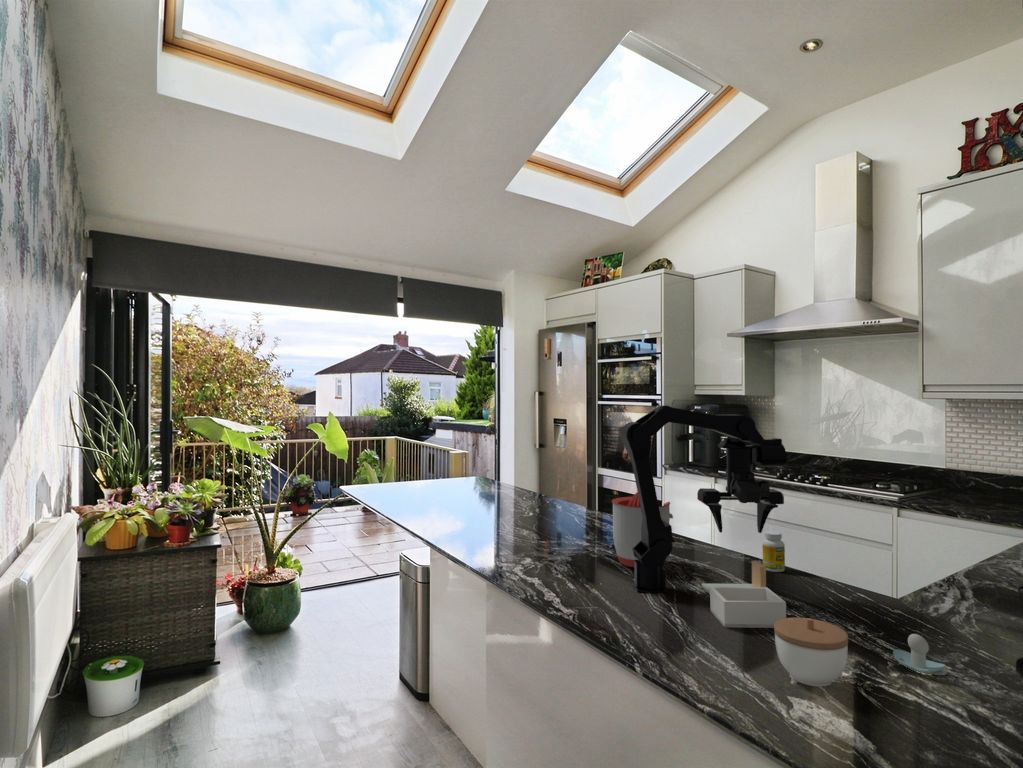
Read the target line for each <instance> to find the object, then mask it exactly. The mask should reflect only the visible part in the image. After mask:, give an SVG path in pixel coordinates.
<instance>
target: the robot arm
mask: <svg viewBox="0 0 1023 768" xmlns="http://www.w3.org/2000/svg"><path fill="white" fill-rule="evenodd" d="M668 423H672V424H677V425H685V426H690V427H695V428H702V429H707V430H711V431H714V432H716V433H719V434H721V435H724V436H727V437H724V438H723V440H722V441H720V442H719V443H718V444H717V447H718V448H722V449H726V469H725V474H726V486H725V491H719V490H718V489H715V488H702V487H701V488H699V489H698V491H697V497H696V498H697V501H700V503H702V504H703V505H705V506H707V507H708V508H709V511H710V512H711V514H712V517H713V519H714V522H715V524H716V527H717V529H718V532H719V533H723V522H722V520H723V519H722V506H723V505H722V504H720V502H721V501H738V502H739V503H741V504H747V503H754V504H756V511H757V512H756V521H757V522H756V527H757V533H759V534H761V533H762V532H763V530H764V527H765V524H766V522H767V518H768V517H769V515H770V514H771V511H773V509H775V508H778V507H779V505H784V504H785V498H784V497H785V496H784V494H783V492H781V491H780V490H777V489H775V488H770V483H769V481H767V480H760V481H756V479H755V477H756V476H755V472H753V463H755V465H756V467H758V468H767V467H768V468H771V467H773V468H774V467H775V468H776V467H778V468H779V467H780V468H782V467H785V466H786V463H787V461H788V455H787V452H786V448H785V446H784V444H783V439H782V438H778V437H775V438H774V437H773V438H764V437H763V436H762V434H761V433H760V432H759V431H758V429H757V428H756V426H757V425H756V421H754V420H753V417H751V416H749V415H745V414H731V413H730V414H711V413H707V412H702V411H701V412H700V411H694V410H689V409H682V408H677V407H671V406H670V405H661V404H660V405H658V406H656V407H655V408H654V409H653V410H652V411H650V412H648V413H646V414H645V415H643V416H641V417H639V418H638V419H637V420H636V421H630V422H627V423H625V424H623V426H622V427H621V429H620V438H621V441H622V443H623V446H624V449H625V451H626V452H627V455H628V456H629V459H630V461H631V466H632V471H633V475H634V480H635V486H636V492H638V496H639V501H640V506H641V512H642V518H643V519H642V526H641V541H640V542H639V543H638V544H637V545H636V546H635V547H634V548H633V549H632V551H633V554H634V556H635V558H637V559H638V560H634V567H633V568H634V569H633V570H634V571H633V573H634V575H633V576H634V580H633V581H632V585H633V587H634V588H635V590H636V591H637V592H639V593H665V592H666V585H667V584H666V583H667V580H666V579H667V578H666V577H667V575H666V571H667V570H666V569H665V567H664V565H665V563H666V560H667V558H668V557H669V556H670V554H671V553H672V552H673V550H674V546H673V544H675V543H676V541H675V540H674V537H673V530H672V529H673V528H672V525H671V524H670V523H669V524H668V523H667V522H665V521H664V520H663V521H662V519H661V515H660V510H659V506H660V505H659V501H658V497H657V496H658V495H657V491H656V486H655V481H654V480H655V479H654V475H653V471H652V467H651V464H652V463H651V461H650V460H651V459H650V458H651V450H652V437H653V436H654V435H655V434H657V433H659V431H660V430H661V429H663V427H664V426H665V425H667V424H668ZM728 437H729V438H728ZM730 438H733V439H739V440H731V439H730ZM745 442H746V443H750V445H749V444H745Z"/></svg>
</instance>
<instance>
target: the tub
mask: <svg viewBox="0 0 1023 768" xmlns="http://www.w3.org/2000/svg"><path fill="white" fill-rule="evenodd" d="M709 598H710V603H709V605H710V606H709V607H710V608H709V610H710V612H711V613H712V615H713V616H714V617H715V618H716V619H717V621H718V622H719V623H720V624H721V625H722V626H723V628H740V629H741V628H742V629H743V628H752V629H754V628H755V629H756V628H758V629H761V628H762V629H764V628H765V629H767V628H768V629H774V624H775V622H776V621H778V620H780V619H784V618H787V602H786V601H785V600H784V599H783V598H782V597H780V596H778V595H777V594H776V593H775V592H773V590H771V589H770V588H768V586H766V587H710V594H709Z"/></svg>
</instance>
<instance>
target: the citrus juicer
mask: <svg viewBox="0 0 1023 768" xmlns="http://www.w3.org/2000/svg"><path fill="white" fill-rule="evenodd" d="M611 503H612V536H613V543H614V548H615V551H616V556H617V558H618V562H619V563H620V564H621V565H623V566H626V567H631V568H634V560H638V559H637V558H635V556H634V554H633V551H632V549H633V548H634V547H635V546H636V545H637V544H638V543H639V542H640V541H641V526H642V519H643V518H642V512H641V506H640V501H639V496H638V491H636V492H635V494H633V495H632V496H623V497H616V498H613V499H612V500H611ZM670 505H671V502H670V501H667V502H664V503H663V505H659V510H660V515H661V519H662V521H663V520H664V521H665V522H667V523H668V524H670V519H674V516H673V514H672V513H671V511H670Z"/></svg>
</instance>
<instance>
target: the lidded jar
mask: <svg viewBox="0 0 1023 768" xmlns="http://www.w3.org/2000/svg"><path fill="white" fill-rule="evenodd" d="M773 631H774V642H775V649H776V653H777V657H778V659H779V661H780V663H781V666H783V669H784V670H786V672H788V674H789V676H790V677H791V678H792V679H793V680H794V681H796V682H798V683H800V684H803V685H805V686H810V687H816V688H817V687H818V688H823V687H822V686H826V685H829V684H831V683H832V684H833V682H834V681H836V680H838V678H840V677H841V675H842V674H843V672H844V670H845V668H846V666H847V660H848V651H849V650H848V649H849V648H848V644H849V635H848V633H847V632H846V631H845V630H844V629H842V628H841V627H839V626H837V625H834V624H832V623H829V622H826V621H823V620H818V619H814V618H809V617H808V618H807V617H786V618H784V619H780V620H778V621H776V622H775V624H774V628H773ZM832 684H831V685H832ZM829 686H830V685H829ZM826 687H827V686H826Z"/></svg>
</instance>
